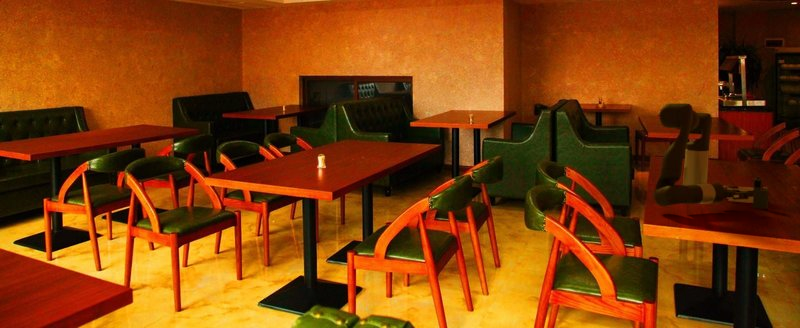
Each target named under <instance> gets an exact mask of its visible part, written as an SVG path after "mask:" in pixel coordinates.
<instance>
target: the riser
mask: <svg viewBox="0 0 800 328" xmlns="http://www.w3.org/2000/svg"><path fill="white" fill-rule="evenodd" d="M753 188H754V187H747V186H738V189H739V190H740V191H752V190H753ZM728 202H736V203H749V204H753V197H749V198H748V199H737V200H734V199H733V198H730V199H728Z"/></svg>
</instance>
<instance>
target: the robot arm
mask: <svg viewBox="0 0 800 328" xmlns="http://www.w3.org/2000/svg"><path fill="white" fill-rule="evenodd" d="M659 121H660V123H661V125H662V126H663V127H664V128H668V129H676V130H679V133H678V135H677V137H676V138H675V140H674V141H673V142H672V143H671V144H670V146H669V147H668V148H667V149H666V151H665V152H664V154H663V155H662V159H661V160H662V161H661V164H660V173H659V176H658V179H657V182H656V184H655V188H654V191H653V199H654V202H655V203H656V204H657V205H658V206H660V207H668V206H673V205H674V206H675V205H678V204H679V205H680V204H687V205H694V204H701V205H706V204H720V203H722V202H723V201H724V200H725V199H727V200H729V199H730V198H733V199H734V200H737V199H748V198H749V197H754V196H755V191H753V190H752V191H740V190H739V189H738V187H739V186H736V185H730V186H729V185H723V184H721V182H709V183H708V171H709V155H710V154H709V153H710V144H711V143H710V142H711V141H710V140H711V132H712V123H713V122H712V121H713V117H712V114H711V113H708V112H697V111H695V110H694V109H693V106H692V105H691V103H684V102H683V103H682V102H681V103H676V102H675V103H665V104H663V105H662V107H661V109H660V111H659ZM690 135H700V137H699V138H698V139H695V140H693V141H689V137H690ZM683 161H684V167H683ZM682 170H683V176H682ZM681 176H682V177H681ZM681 178H682V184H676V183H677V182H679V180H681Z"/></svg>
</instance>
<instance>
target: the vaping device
mask: <svg viewBox="0 0 800 328" xmlns="http://www.w3.org/2000/svg"><path fill="white" fill-rule="evenodd" d="M752 188H753V191H755V196H754V197H753V203H752V208H753V209H758V210H767V209H768V206H769V198H770V197H769V195H770V192H769V188H768V187H767V186H763V187H762V179H761V178H760V176H756V178H754V179H753V187H752Z"/></svg>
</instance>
